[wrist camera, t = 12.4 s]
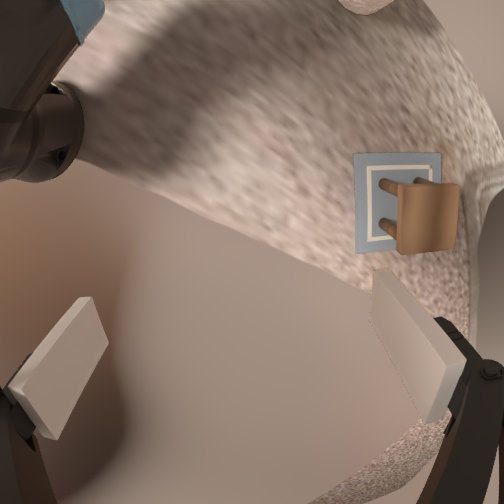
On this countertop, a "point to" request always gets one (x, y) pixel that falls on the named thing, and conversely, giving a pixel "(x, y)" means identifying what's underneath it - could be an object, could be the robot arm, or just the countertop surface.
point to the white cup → (364, 5)
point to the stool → (423, 215)
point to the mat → (381, 202)
